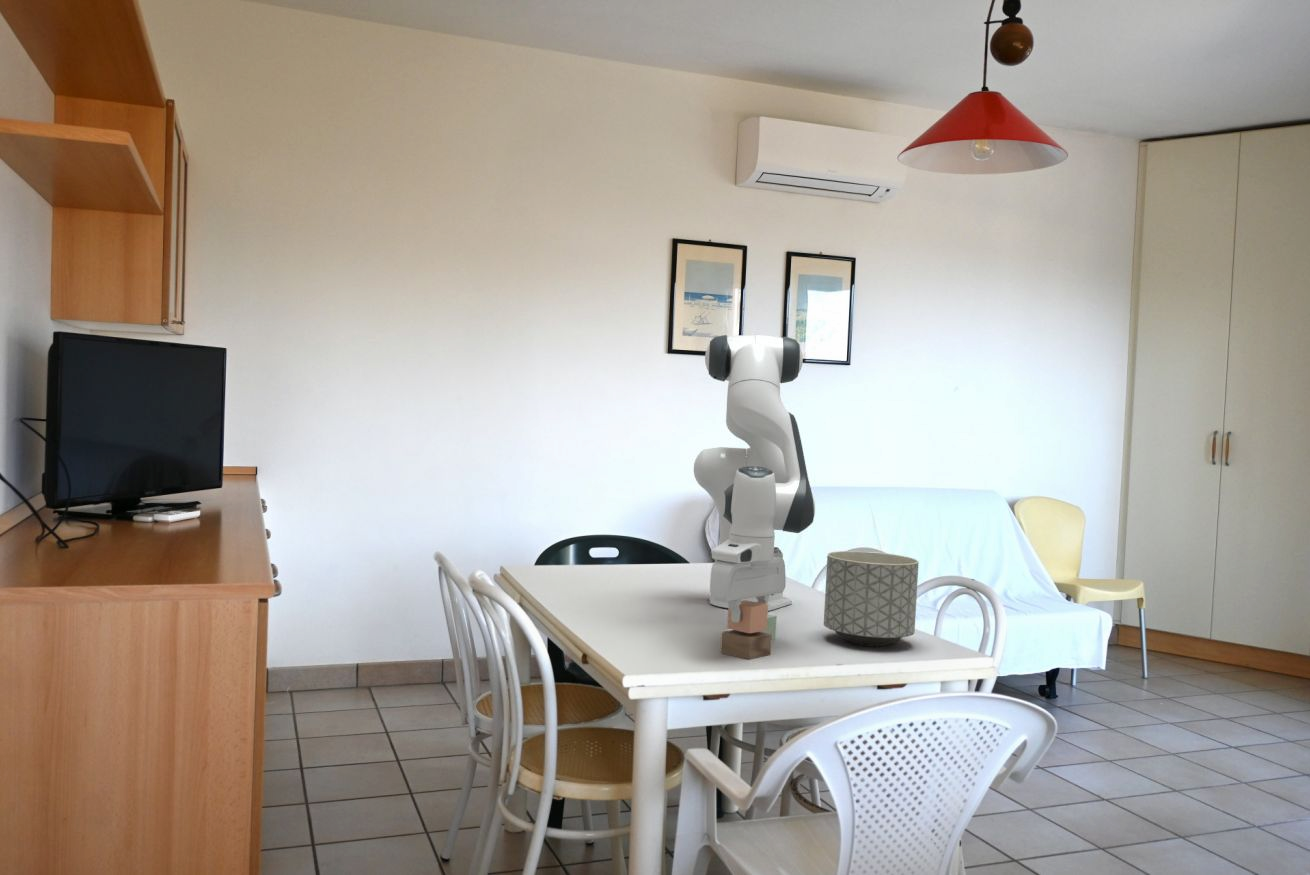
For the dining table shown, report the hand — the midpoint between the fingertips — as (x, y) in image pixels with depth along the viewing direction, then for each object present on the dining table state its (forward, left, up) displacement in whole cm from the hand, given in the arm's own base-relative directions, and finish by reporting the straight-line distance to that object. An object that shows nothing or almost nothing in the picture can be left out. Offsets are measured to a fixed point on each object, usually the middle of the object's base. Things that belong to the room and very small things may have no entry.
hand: (747, 619), depth 196 cm
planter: (-31, +9, -7) cm, 33 cm away
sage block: (-13, -7, -7) cm, 16 cm away
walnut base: (0, 0, -7) cm, 7 cm away
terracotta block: (0, 0, -2) cm, 2 cm away
